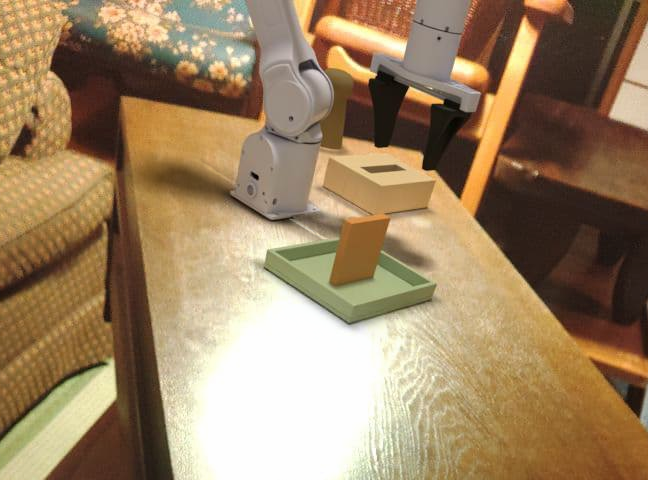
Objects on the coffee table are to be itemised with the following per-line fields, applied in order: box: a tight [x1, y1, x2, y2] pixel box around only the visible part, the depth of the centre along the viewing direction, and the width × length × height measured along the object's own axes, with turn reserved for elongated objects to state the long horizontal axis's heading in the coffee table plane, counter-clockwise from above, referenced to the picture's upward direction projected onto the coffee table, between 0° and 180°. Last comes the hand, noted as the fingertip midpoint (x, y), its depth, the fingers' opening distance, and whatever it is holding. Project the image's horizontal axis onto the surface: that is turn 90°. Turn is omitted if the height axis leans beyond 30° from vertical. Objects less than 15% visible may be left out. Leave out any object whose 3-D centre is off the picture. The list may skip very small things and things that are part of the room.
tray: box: [263, 237, 438, 324], centre depth 84 cm, size 15×13×2 cm
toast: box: [329, 214, 391, 286], centre depth 83 cm, size 7×1×7 cm, turn 138°
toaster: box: [322, 152, 437, 216], centre depth 108 cm, size 14×10×4 cm
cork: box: [320, 67, 355, 150], centre depth 119 cm, size 6×6×11 cm
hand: (404, 158), depth 90 cm, fingers open, 7 cm apart
